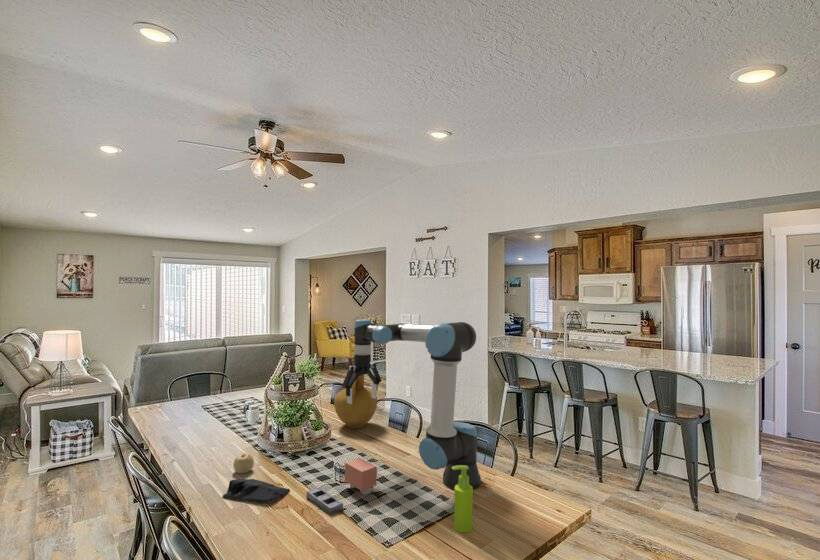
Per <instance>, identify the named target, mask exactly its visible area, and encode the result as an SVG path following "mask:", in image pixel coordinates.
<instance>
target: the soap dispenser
mask: <svg viewBox="0 0 820 560" xmlns="http://www.w3.org/2000/svg"><path fill="white" fill-rule="evenodd" d="M452 469H453V470H459V469H461V475H459V484H457V485H455V489H454V503H453V504H454V505H453V506H454V509H453V510H454V512H453V513H454V514H453V516H454V517H453V522H454V523H453V528H454V530H456V532H458V533H462V534H463V533H464V534H465V533H470V532H471V531H472V530H473V511H474V510H473V504H474V503H473V500H474V499H473V497H474V496H473V495H474V493H473V491H474V489H473V487H472V486H471V485H469V476H468V475H466V473H467V470H469V468H468V466H467V465H456V466H452Z"/></svg>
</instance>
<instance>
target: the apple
mask: <svg viewBox="0 0 820 560" xmlns="http://www.w3.org/2000/svg"><path fill="white" fill-rule="evenodd" d="M254 464H255V460H254V457H253V455H251V454H250V453H248V452H243V453H240V454H238V455H237V456H236V457H235V458H234V460H233V469H234V471H235V472H236V473H238V474H247V473H249V472H250V471H251V470H252V469H253V468H254Z"/></svg>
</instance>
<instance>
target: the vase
mask: <svg viewBox="0 0 820 560" xmlns="http://www.w3.org/2000/svg"><path fill="white" fill-rule="evenodd" d="M354 371H355V369H354ZM354 371H353V373H354ZM352 375H353V374H352ZM351 389H352V404H349V403H347V396H346V388H343V389H342V390H340V391H339V392H337V394H335V396H334V399H333V402H334V403H333V405H334V408H335V413H336V415H337V417H338V419H339V420H340V421H341V422H342V423H343V424H344V425H346V426H347V428H350V429H359V428H363V427H364V426H365V425H366V424H367V423H369V422H370V420H372V418H373V417H374V415H375V414H376V410H377V408H378V407H377V406H378V398H377V399H374V398H372V389H370V388H367V387H365V374H363V375H359V376H358V377H357V379H356V381H355V382H354V384H353V385H352V387H351Z"/></svg>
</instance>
